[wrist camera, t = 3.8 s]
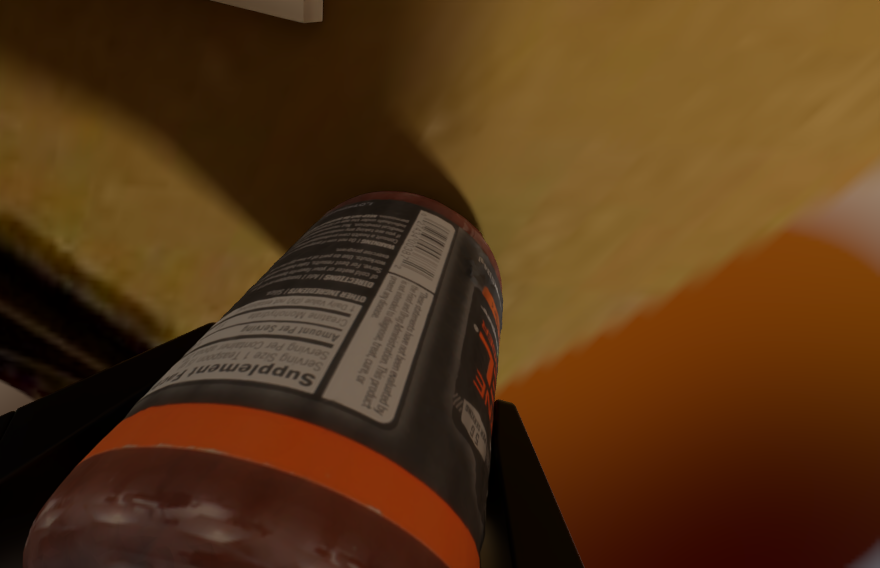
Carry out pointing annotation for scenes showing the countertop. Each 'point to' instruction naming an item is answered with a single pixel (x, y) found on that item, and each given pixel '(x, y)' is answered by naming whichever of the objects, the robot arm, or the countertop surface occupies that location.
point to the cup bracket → (283, 8)
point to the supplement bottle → (311, 415)
